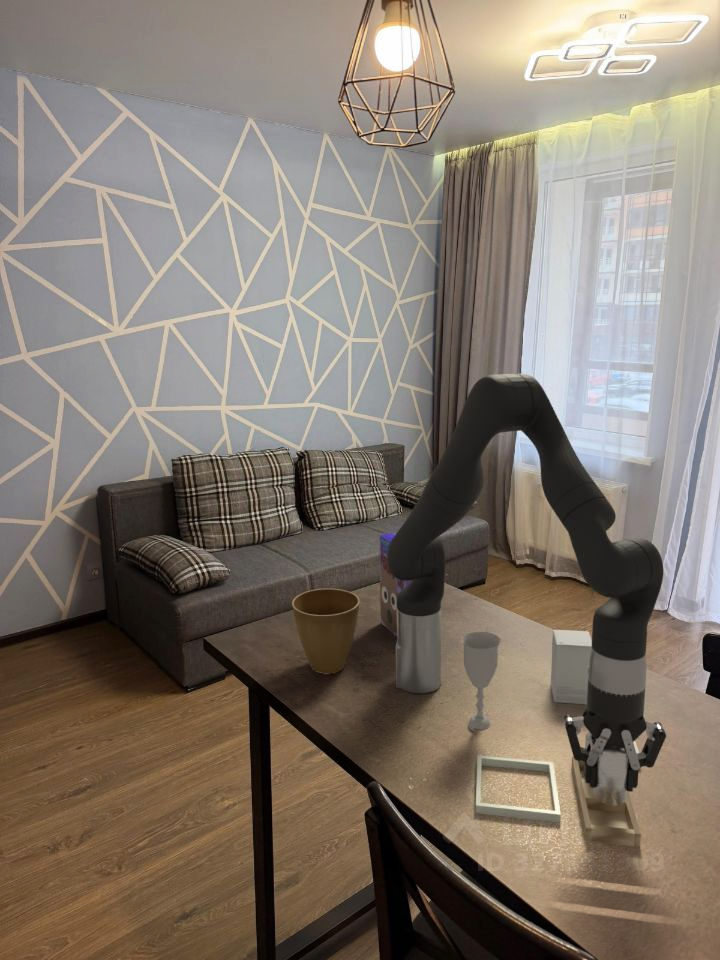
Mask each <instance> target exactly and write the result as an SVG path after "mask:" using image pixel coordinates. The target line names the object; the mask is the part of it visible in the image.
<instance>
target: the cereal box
mask: <svg viewBox="0 0 720 960" xmlns="http://www.w3.org/2000/svg"><path fill="white" fill-rule="evenodd" d="M396 533H397V532H393V533H392V532H389V533H385V534H380V535H378V542H379V543H378V544H379V545H378V547H379V548H378V551H379V556H378V557H379V558H378V560H379V591H380V593H379V594H380V596H379V597H380V599H379V600H380V604H379V605H380V623H381V622H382V623H383V624H384V625H385V626H386V627H387V628H388V629H389V630H391V631H390V632H391V633H392V632H393V633H394V634H395V635H396V636H395V635H394V634H393V633H392V634H393V635H394V636H395V637H397V602H396V601H397V595H398V593H399V592H400V591H401V590H403V589H404V588H405V587H407V586H408V585H409V584H410V583H411V582H412V581H413V580H409V581H404V580H399V579H397V578H395V577H394V576H393V575H392V574H391V573H390V571H389V569H388V566H387V552H388V548H389V545H390V542H391V541H392V539H393V537H394V536H395V535H396ZM385 626H384V627H385ZM386 627H385V628H386ZM387 628H386V629H387ZM388 629H387V630H388ZM389 630H388V631H389Z"/></svg>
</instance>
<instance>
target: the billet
mask: <svg viewBox="0 0 720 960" xmlns="http://www.w3.org/2000/svg"><path fill="white" fill-rule="evenodd" d="M628 762H629V758H628V755H627V751H626V748H619V747H616V746H610V747H605V746H604V749H603V751H602V753H601V755H599V756H598V759H597V761H596V763H595V764H596V784H595V788H593V794H594V796H595V797H596V799H598V800H599V801H600V802H602V803H604V804H607V805H612V806H617V805H621V804H623V803H624V802H625V801H626V793H627V778H628Z"/></svg>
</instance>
